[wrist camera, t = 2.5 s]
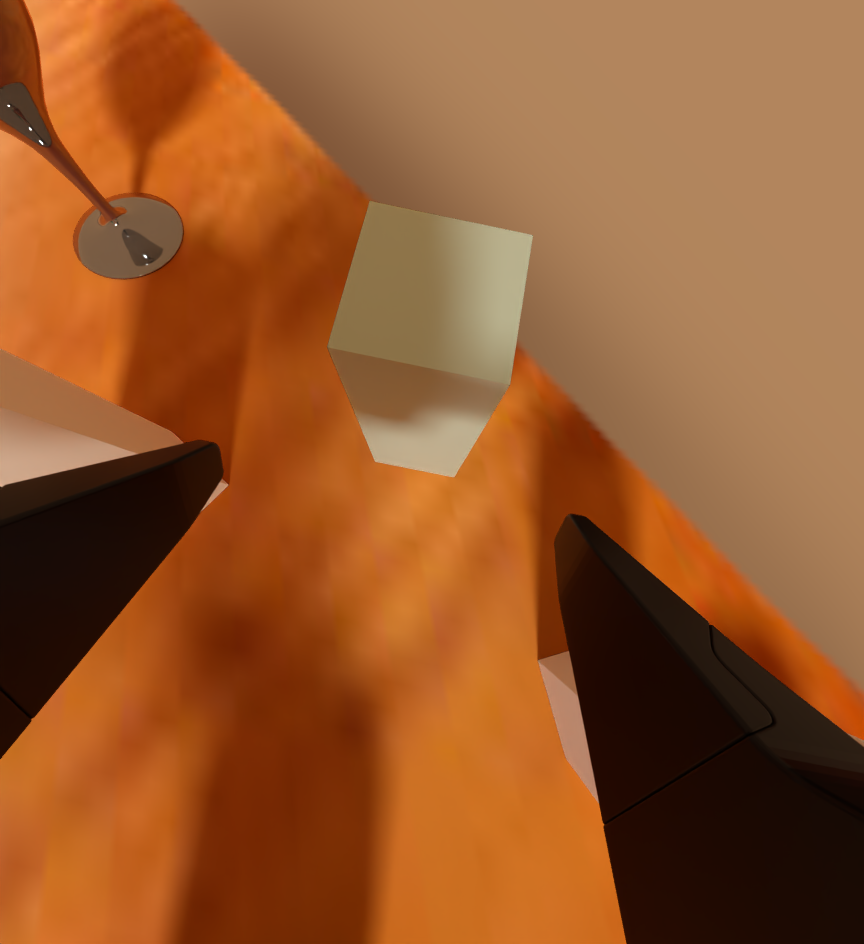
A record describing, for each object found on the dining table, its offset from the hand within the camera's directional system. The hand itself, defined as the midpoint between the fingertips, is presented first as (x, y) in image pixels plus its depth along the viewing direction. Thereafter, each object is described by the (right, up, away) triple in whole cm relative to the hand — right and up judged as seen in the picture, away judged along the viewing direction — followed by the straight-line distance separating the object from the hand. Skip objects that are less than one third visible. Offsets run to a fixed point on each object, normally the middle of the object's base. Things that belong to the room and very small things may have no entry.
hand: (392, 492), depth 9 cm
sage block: (0, +3, +13) cm, 13 cm away
